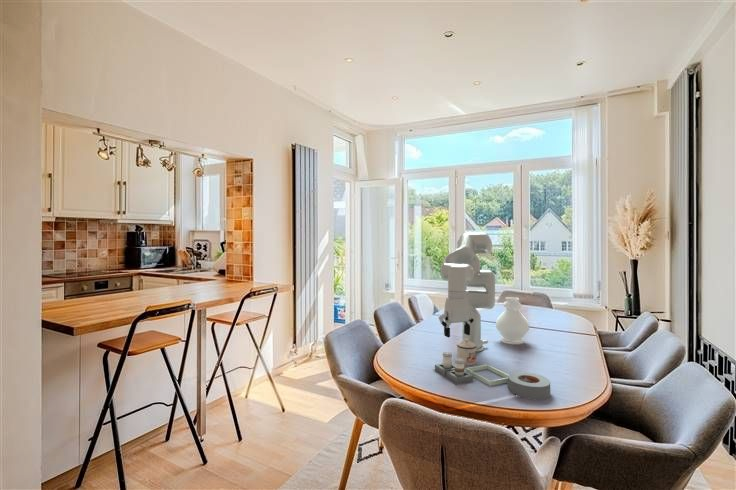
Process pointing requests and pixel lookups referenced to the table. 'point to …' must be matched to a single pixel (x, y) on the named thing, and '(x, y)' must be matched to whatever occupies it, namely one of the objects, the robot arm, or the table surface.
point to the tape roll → (529, 385)
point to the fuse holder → (453, 375)
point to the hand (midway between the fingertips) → (457, 335)
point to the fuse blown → (459, 367)
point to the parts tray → (490, 383)
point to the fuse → (447, 360)
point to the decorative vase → (512, 322)
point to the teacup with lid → (467, 351)
